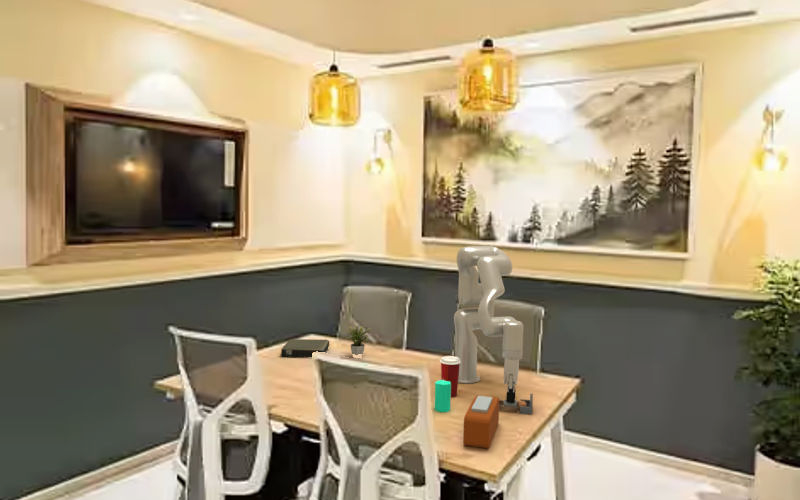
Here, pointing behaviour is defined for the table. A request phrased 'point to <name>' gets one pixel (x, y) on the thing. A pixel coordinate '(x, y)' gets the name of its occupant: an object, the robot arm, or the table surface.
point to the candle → (442, 396)
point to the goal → (529, 406)
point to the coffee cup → (450, 372)
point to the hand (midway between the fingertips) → (510, 400)
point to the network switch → (303, 347)
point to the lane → (506, 408)
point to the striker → (510, 403)
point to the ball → (522, 404)
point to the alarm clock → (481, 421)
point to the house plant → (357, 340)
